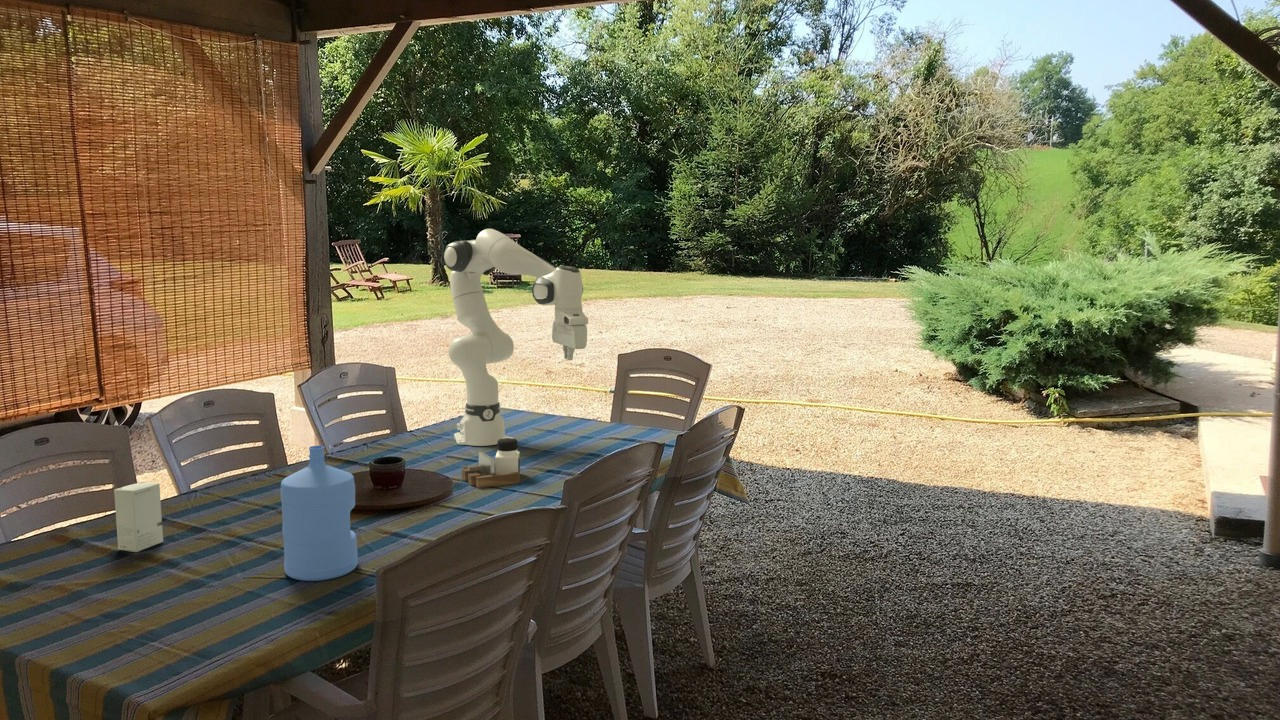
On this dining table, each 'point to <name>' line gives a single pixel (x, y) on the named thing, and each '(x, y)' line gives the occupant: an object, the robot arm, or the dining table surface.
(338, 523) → the water jug
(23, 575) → the dining table surface
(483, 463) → the block
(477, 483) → the lane
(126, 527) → the skincare box
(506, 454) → the medicine bottle
